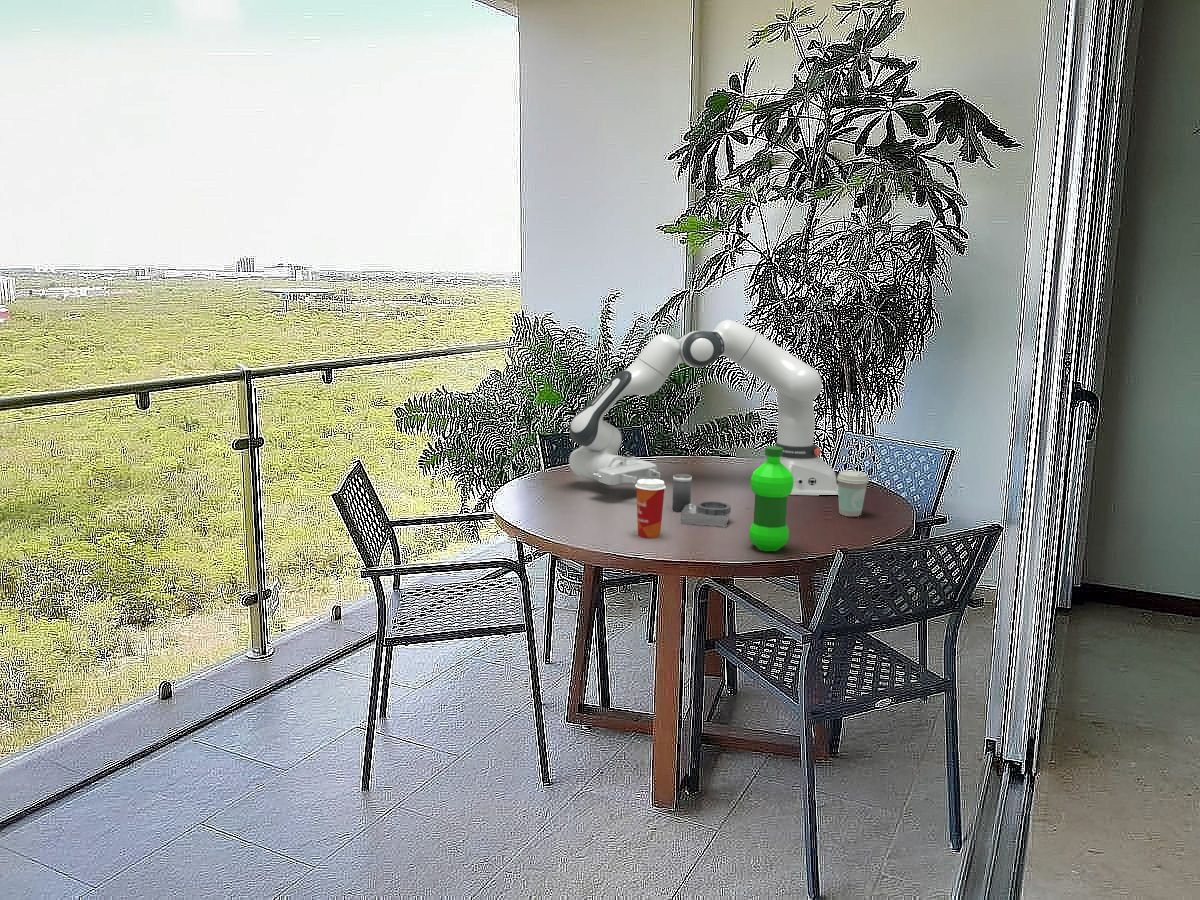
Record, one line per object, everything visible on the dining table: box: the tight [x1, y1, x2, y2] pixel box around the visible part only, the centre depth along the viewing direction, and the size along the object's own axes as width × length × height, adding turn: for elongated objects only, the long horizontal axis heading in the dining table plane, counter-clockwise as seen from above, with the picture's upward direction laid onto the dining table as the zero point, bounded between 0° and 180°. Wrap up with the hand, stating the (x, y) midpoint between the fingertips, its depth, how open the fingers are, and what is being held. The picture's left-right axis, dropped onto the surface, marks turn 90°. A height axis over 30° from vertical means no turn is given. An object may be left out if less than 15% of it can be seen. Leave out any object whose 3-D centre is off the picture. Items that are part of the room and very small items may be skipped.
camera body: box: [680, 500, 732, 528], centre depth 249 cm, size 12×9×4 cm
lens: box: [671, 473, 693, 513], centre depth 259 cm, size 5×5×10 cm
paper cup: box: [635, 478, 667, 539], centre depth 234 cm, size 8×8×14 cm
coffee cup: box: [836, 470, 870, 516], centre depth 258 cm, size 9×8×12 cm
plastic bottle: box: [748, 445, 794, 552], centre depth 224 cm, size 10×10×25 cm
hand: (648, 478), depth 267 cm, fingers open, 8 cm apart
